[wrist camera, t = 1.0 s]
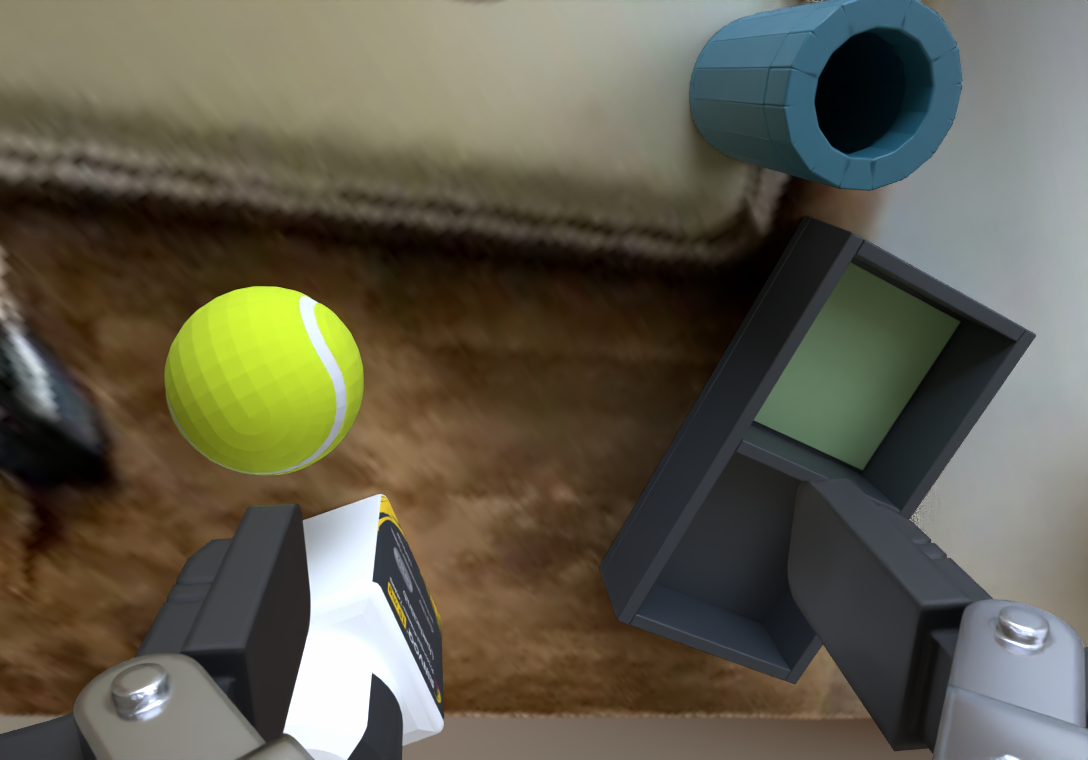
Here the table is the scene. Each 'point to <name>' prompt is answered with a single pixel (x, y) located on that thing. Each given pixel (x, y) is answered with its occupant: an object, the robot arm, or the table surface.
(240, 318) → the tennis ball
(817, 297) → the divided tray
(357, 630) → the medicine bottle
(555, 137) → the table surface
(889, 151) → the jar
